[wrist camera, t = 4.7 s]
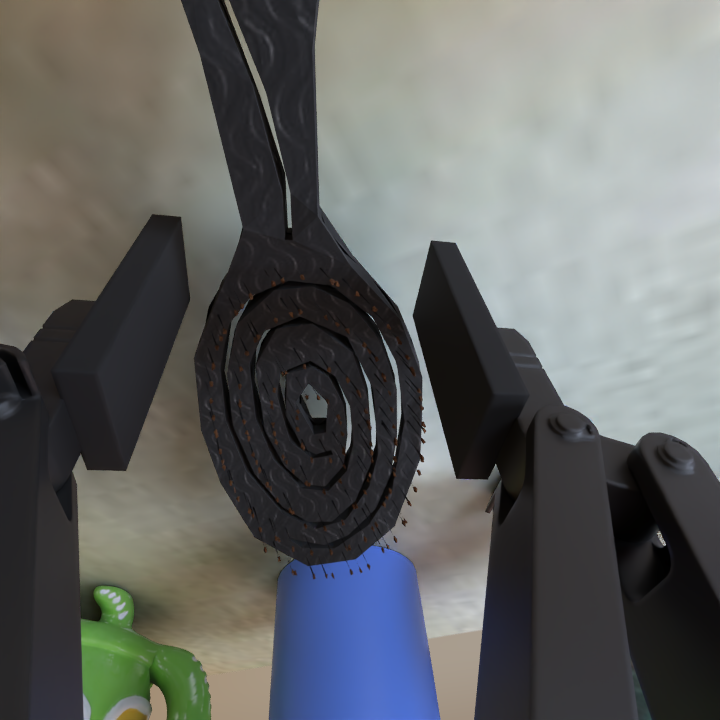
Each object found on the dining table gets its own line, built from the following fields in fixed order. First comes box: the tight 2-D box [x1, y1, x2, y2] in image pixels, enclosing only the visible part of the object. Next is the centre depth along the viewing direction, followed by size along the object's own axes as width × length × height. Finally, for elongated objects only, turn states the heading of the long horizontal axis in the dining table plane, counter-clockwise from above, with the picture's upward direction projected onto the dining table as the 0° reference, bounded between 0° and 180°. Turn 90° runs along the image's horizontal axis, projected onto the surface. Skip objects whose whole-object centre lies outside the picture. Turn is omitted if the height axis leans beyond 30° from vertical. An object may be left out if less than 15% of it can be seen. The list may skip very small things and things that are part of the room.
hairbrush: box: [181, 0, 426, 579], centre depth 13 cm, size 8×4×25 cm
